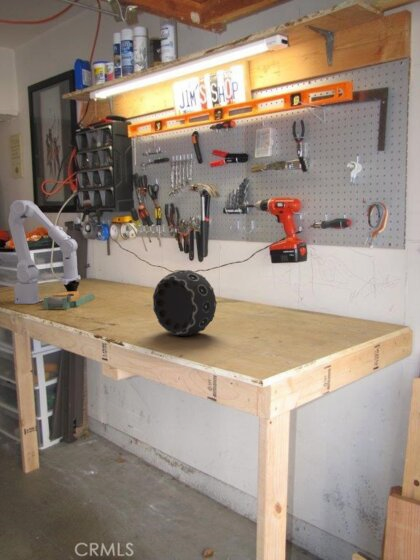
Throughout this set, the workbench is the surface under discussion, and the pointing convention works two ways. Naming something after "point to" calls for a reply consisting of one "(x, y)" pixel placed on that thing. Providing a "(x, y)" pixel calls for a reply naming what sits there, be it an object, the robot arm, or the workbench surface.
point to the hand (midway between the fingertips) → (72, 298)
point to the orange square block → (64, 293)
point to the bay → (66, 301)
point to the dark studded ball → (184, 303)
